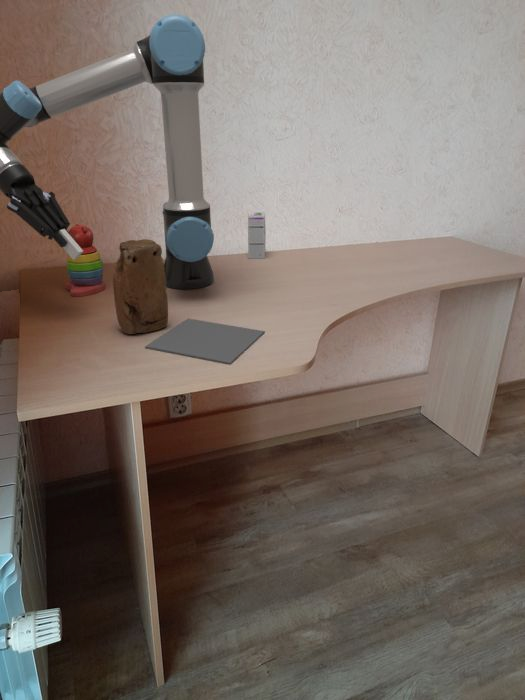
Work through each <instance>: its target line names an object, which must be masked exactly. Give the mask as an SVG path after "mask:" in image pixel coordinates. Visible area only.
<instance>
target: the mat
mask: <svg viewBox="0 0 525 700" xmlns="http://www.w3.org/2000/svg"><path fill="white" fill-rule="evenodd" d="M265 333H266V331H265V330H260V329H254V328H253V329H252V328H248V327H241V326H236V325H230V324H224V323H217V322H213V321H212V322H211V321H207V320H199V319H193V318H187V319H184V320H183V321H182V322H180V323H179V324H177V325H175V326H174V327H173V328H171V329H169V330H167V331H166V332H165V333H163V334H162V335H160V336H159V337H156V339H154V340H153V341H151V342H149V343H148V344H147V345H145V346H144V349H149V350H153V351H159V352H163V353H169V354H174V355H178V356H184V357H189V358H194V359H199V360H200V359H201V360H204V361H205V360H206V361H210V362H214V363H221V364H225V365H232V364H233V363H234V362H235V361H236V360H237V359H238V358H239V357H241V355H242V354H244V353H245V352H246V351H247V350H248V349H249V348H250V347H251V346H252V345H254V343H256V342H257V341H258V340H259V339H260V338H261V337H262V336H263V335H265ZM259 337H260V338H259ZM258 338H259V339H258Z"/></svg>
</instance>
